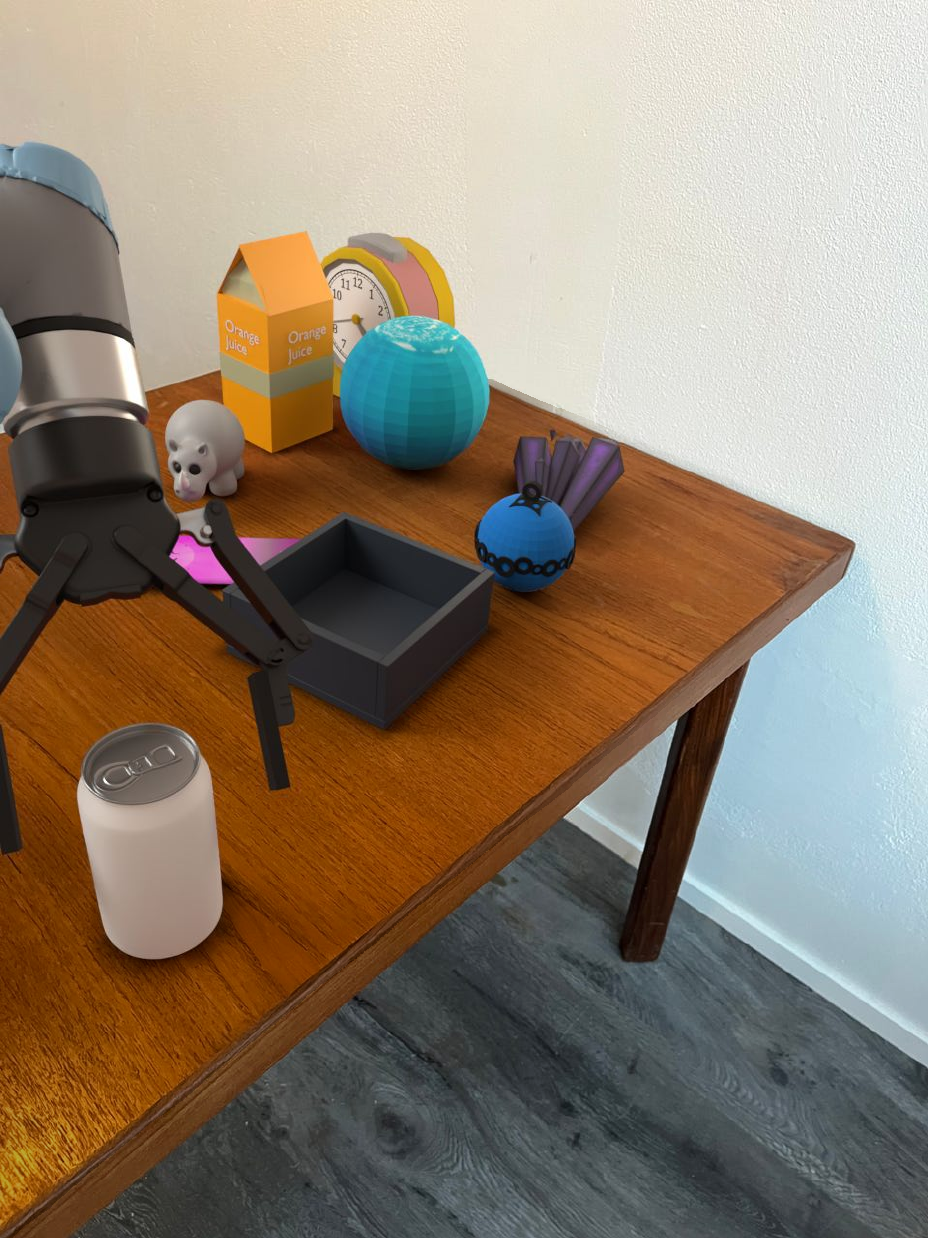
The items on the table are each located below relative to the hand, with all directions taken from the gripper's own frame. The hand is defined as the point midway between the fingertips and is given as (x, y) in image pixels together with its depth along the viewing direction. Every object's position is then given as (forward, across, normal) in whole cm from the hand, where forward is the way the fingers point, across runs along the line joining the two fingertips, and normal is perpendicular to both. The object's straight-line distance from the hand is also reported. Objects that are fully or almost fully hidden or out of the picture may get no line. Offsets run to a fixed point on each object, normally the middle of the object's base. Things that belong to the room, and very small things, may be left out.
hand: (152, 820), depth 51 cm
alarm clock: (-40, -34, -50) cm, 73 cm away
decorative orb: (-29, -33, -39) cm, 58 cm away
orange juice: (-36, -21, -46) cm, 62 cm away
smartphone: (-19, -10, -29) cm, 36 cm away
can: (+6, 0, -5) cm, 7 cm away
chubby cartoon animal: (-27, -11, -37) cm, 47 cm away
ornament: (-12, -34, -22) cm, 42 cm away
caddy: (-9, -18, -19) cm, 28 cm away
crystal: (-21, -44, -31) cm, 58 cm away
